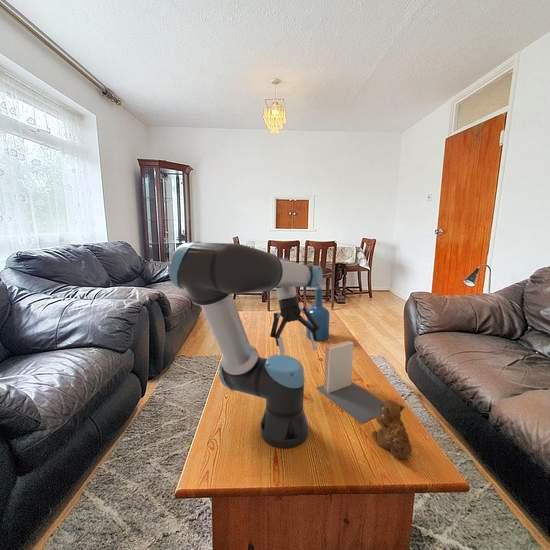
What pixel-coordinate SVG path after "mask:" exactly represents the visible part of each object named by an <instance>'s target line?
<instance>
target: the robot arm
mask: <svg viewBox="0 0 550 550" xmlns="http://www.w3.org/2000/svg"><path fill="white" fill-rule="evenodd" d="M168 275H169V279H170V282H171V283H172V284H173V285H174V286H175V287H177V288H178V289H181V290H184V289H185V290H186V292H187V294H188V296H189V298H190V301H191V302H192V303H193V304H194V305H196V306H199V307H201V309H202V312H203V314H204V316H205V318H206V321H207V323H208V325H209V327H210V329H211V333H212V334H213V336H214V339H215V342H216V343H217V345H218V347H219V349H220V352H221V354H222V358H221V361H220V364H219V367H218V370H219V372H218V378H219V380H220V382H221V384H222V385H223V386H224V387H225V388H227V389H229V390H231V391H235V392H240V393H244V394H247V395H252V396H255V397H258V398H261V399H265V409H264V411H263V412H264V413H263V415H262V418H261V420H260V428H259V429H260V430H259V431H260V432H259V433H260V436H261V437H262V439H263V441H265V442H266V443H267V444H268V445H270V446H272V447H275V448H279V449H280V448H281V449H291V448H295V447H298V446H300V445H302V444H303V443H304V442H305V441H306V440H307V439H308V436H309V423H308V419H307V416H306V412H305V409H304V398H305V397H304V392H305V374H304V373H305V371H304V366H303V365H302V363H301V361H299V360H298V359H297V358H295V357H293V356H291V355H287V354H285V353H286V352H285V347H284V341H283V337H282V336H281V334H282V333H283V331H284V329H285V327H286V324H287V323H291V322H296V321H298V322H300V323H301V324H302V325H303V326H304V327H307V328H308V329H309V330H310V331H311V333H310V336H311V339H310V341H311V346H312V349H313V351H317V350H318V345H317V342H318V341H317V340H318V338H317V333H316V331H317V330H319V329H320V326H319V325H318V323H317V322H316V321H315V319H314V318H313V317H312V315H311V314H310V313H309V310H308V309H309V308H308V306H303V307H302V308H300V303H299V299H298V297H297V290H296V287H299V288H301V287H302V288H304V287H305V288H311V289H313V288H315V289H316V288H318V287H320V286H322V282H323V277H324V276H323V275H324V272H323V269H322V267H321V266H319V265H313V264H311V265H309V264H307V265H306V264H303V263H299V262H293V261H290V260H289V258H286V257H283V258H282V257H281V258H279V257H278V256H277V255H275V254H274V253H272V252H267V251H264V250H261V249H258V248H254V247H251V246H248V245H244V244H240V243H233V242H231V243H229V242H228V243H227V242H226V243H224V242H221V243H220V242H202V241H195V242H194V241H193V242H185V243H182V244H180V245H179V246H178V247H177V248H176V249H174V251H173V253H172V255H171V257H170V262H169V264H168ZM274 289H276V290H275V291H276V295H277V299H279V300H278V305H279V310H280V312H274V313H273V323H272V326H271V331H270V334H269V337H271V338H274V339H275V344H276V347H278V349H279V353H280V354H272V355H270V356H269V357H267V358H266V357H261V356H260V355H259V352H258V350H257V348H256V347H255V346H254V345H252V344H250V342H249V338H248V335H247V332H246V330H245V327H244V324H243V321H242V320H241V316H240V313H239V311H238V308H237V306H236V302H235V299H234V297H233V295H235V294H236V295H237V294H238V295H239V294H249V293H257V292H259V293H260V292H269V291H271V290H272V291H273V290H274ZM301 314H304V315H305V318H306V319H305V318H304V317H303V316H302V315H301ZM281 317H282V320H281V322H280V318H281ZM307 318H308V320H309V321H310V322H311V324H312V325H313V326H314V327H313V326H312V325H311V324H309V323H308V322H307ZM279 322H280V324H279ZM278 325H279V326H278Z"/></svg>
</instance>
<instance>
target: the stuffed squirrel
mask: <svg viewBox="0 0 550 550" xmlns="http://www.w3.org/2000/svg"><path fill="white" fill-rule="evenodd" d="M381 406H382V411H383V416H382V415H377V416H376V419H375V420H376V422H377V423H378V424H379V425H380V428H381V429H378V430H377V431H376V430H375V431H371V437H372V438H373V440H374V441H375V443H376V444H377V445H378V446H379V447H381V448H384V449H386V450H389V451H390V453H391V455H393V456H394V457H395V458H397V459H401V460H402V459H403V460H406V459H409V458H410V457H412V456H413V455H412V445H411V442H410V440H409V434H408V432H407V428H406V427H405V424H404V422H403V420H402V415H401V413H402V411H403V410H405V408H406V406H405V405H404V404H399V403H398V402H397V401H394V400H391V399H387V400H386V399H385V400H384V401H383V404H381V405H380V406H379V407H378V408H379V410H380V407H381ZM378 408H377V409H378Z"/></svg>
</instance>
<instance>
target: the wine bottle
mask: <svg viewBox="0 0 550 550" xmlns="http://www.w3.org/2000/svg"><path fill="white" fill-rule="evenodd" d="M323 294H324V293H323V288H322V285H320V287H318V288H315V292H314V295H315V297H314V304H313V305H312V306H311V307H309V308H308V310H309V313H310V314H311V315H312V317H313V318H314V319H315V321H316V322H317V323H318V325H319V326H320V329H319V330H317V331H316V333H317V338H318V340H317V341H316V342H320V341H321V342H322V341H326V340H328V339H329V337H330V317H331V316H330V315H331V313H330V311H329V309H328V308H327V307H325V306H324V305H323ZM306 321H307V322H308V323H309V324H311V322H310V321H309V320H308V318H307V317H306ZM311 325H312V324H311ZM312 326H313V325H312ZM313 327H314V326H313ZM305 331H306V332H305V333H306V334H305V336H306V338H308V339H309V340H311V336H310V333H311V331H310V330H309V329H308V328H307V327H306V330H305Z"/></svg>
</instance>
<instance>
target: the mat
mask: <svg viewBox="0 0 550 550" xmlns="http://www.w3.org/2000/svg"><path fill="white" fill-rule="evenodd" d="M315 389H316V390H317V391H319V392H320V393H321V394H323V395H324V396H325V397H326V398H328V399H329V400H330V401H331V402H333V403H334V404H335V405H336V406H338V407H339V408H340V409H342V410H343V411H344V412H345V413H347V414H348V415H349V416H350V417H352V418H353V419H354V420H356V421H357V422H358V423H359V424H361V425H363V424H366V423H367V422H369V421H372V420H374V419H375V418H376V417H377V415H381V416H382V415H383V411H382V406H381V407H380V410H379V408H378V407H379V406H380V405H381V404H383V402H384V401H383V400H381V399H379V398H378V397H377V396H375V395H374V394H372V393H371V392H369V391H367V390H366V389H364V388H363V387H361V386H359V385H358V384H356V383H355V382H353V381H352V380H351V385H349V386H346V387H344V388H341V389H338V390H335V391H333V392H330V393H327V392H326V391H325V390H324V384H323V385H320V386H317V387H315ZM377 408H378V409H377Z"/></svg>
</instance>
